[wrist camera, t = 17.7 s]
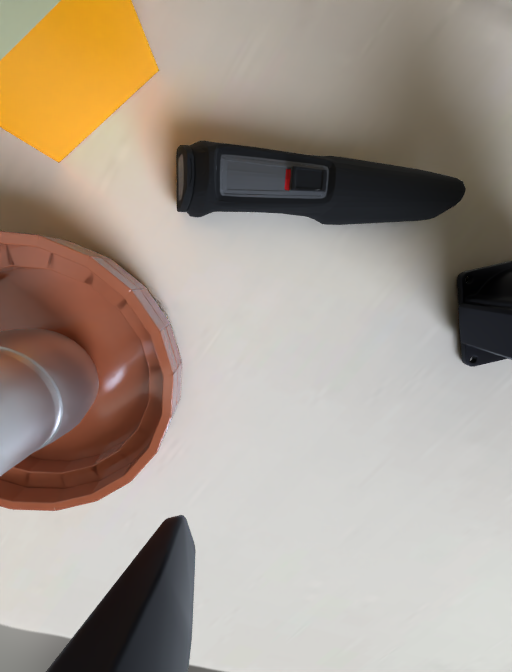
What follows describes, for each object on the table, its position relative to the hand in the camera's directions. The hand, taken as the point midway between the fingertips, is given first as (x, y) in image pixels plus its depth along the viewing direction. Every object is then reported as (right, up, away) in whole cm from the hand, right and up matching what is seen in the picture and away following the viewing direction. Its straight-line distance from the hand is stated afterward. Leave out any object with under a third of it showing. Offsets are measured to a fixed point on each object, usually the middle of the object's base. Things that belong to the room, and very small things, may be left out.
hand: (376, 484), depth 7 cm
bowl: (-16, +1, +12) cm, 20 cm away
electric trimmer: (0, +12, +11) cm, 16 cm away
